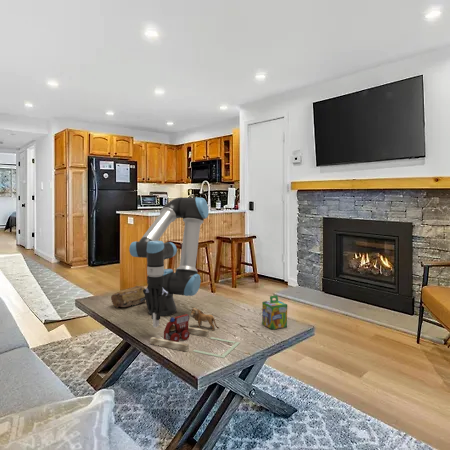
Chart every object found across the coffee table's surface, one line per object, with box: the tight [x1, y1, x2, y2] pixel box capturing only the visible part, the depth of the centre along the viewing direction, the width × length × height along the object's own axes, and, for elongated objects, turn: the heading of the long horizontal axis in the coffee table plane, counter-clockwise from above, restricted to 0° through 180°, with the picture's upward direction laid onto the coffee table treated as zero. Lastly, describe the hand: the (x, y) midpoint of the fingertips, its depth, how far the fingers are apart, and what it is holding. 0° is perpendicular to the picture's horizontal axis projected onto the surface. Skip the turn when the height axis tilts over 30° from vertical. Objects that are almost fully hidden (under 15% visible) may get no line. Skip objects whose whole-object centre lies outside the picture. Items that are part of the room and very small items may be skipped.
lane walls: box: [150, 326, 210, 352], centre depth 158 cm, size 18×19×2 cm
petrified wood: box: [110, 285, 146, 308], centre depth 211 cm, size 19×13×10 cm
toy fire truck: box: [163, 313, 191, 342], centre depth 159 cm, size 7×12×10 cm, turn 128°
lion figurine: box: [190, 307, 220, 331], centre depth 173 cm, size 15×5×9 cm, turn 71°
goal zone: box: [192, 336, 241, 359], centre depth 151 cm, size 14×16×1 cm
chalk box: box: [261, 294, 288, 330], centre depth 176 cm, size 9×9×15 cm
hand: (156, 326), depth 163 cm, fingers closed
